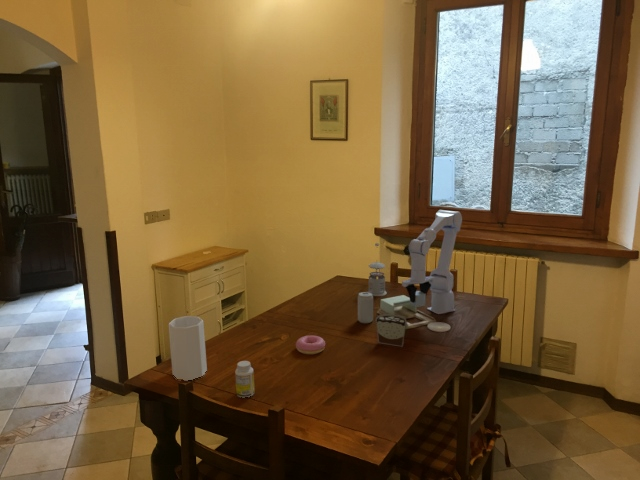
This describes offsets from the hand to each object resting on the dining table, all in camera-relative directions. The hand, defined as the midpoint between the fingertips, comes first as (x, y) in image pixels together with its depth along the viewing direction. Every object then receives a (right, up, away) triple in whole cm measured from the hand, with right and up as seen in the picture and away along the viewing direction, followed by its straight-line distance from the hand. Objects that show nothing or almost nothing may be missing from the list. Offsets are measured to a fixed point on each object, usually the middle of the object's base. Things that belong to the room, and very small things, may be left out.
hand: (417, 300), depth 213 cm
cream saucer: (+8, -10, -4) cm, 14 cm away
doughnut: (-43, -16, -22) cm, 51 cm away
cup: (-84, -20, -39) cm, 94 cm away
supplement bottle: (-63, -23, -53) cm, 85 cm away
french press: (-12, -1, +42) cm, 43 cm away
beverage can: (-21, -9, +5) cm, 23 cm away
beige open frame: (-4, -8, +8) cm, 12 cm away
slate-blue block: (0, -2, 0) cm, 2 cm away
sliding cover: (-6, -6, +12) cm, 15 cm away
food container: (-13, -14, -16) cm, 25 cm away
